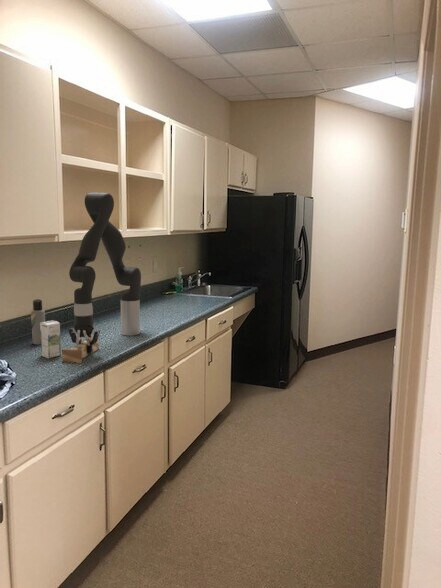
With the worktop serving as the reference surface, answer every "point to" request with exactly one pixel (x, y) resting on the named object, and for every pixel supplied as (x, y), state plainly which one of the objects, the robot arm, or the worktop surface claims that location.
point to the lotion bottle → (37, 320)
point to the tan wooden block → (77, 352)
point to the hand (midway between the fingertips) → (84, 352)
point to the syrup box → (50, 339)
